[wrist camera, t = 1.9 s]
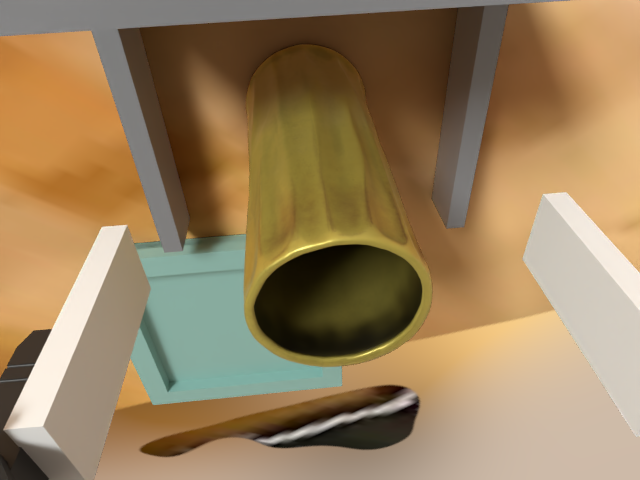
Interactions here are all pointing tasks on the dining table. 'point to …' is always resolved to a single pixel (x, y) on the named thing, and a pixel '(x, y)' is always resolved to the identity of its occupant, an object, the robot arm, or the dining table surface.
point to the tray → (207, 329)
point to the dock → (260, 4)
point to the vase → (325, 219)
